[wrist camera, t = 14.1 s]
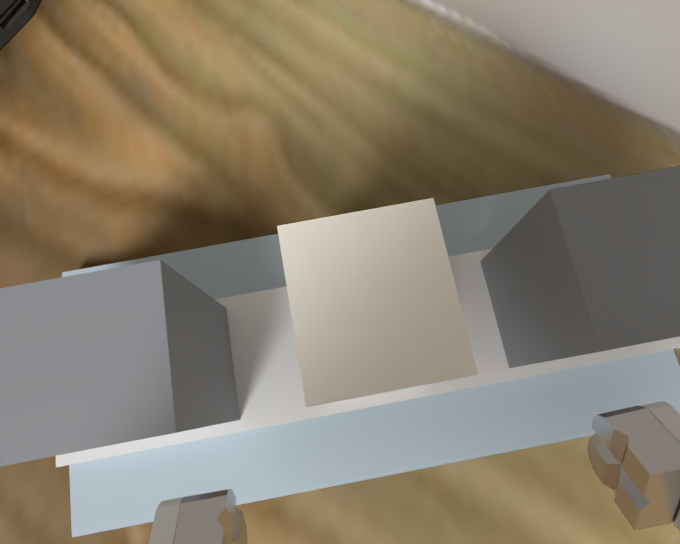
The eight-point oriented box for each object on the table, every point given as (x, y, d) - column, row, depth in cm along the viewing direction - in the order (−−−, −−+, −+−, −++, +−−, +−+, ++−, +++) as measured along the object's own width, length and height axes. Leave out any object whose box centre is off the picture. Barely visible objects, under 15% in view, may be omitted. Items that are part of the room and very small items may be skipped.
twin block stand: (75, 278, 25) (-104, 199, 15) (598, 183, 26) (754, 50, 16) (86, 529, 22) (-129, 638, 12) (679, 413, 23) (933, 426, 13)
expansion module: (304, 288, 22) (275, 217, 14) (399, 270, 22) (431, 189, 14) (323, 403, 21) (305, 407, 12) (424, 384, 21) (478, 374, 12)
